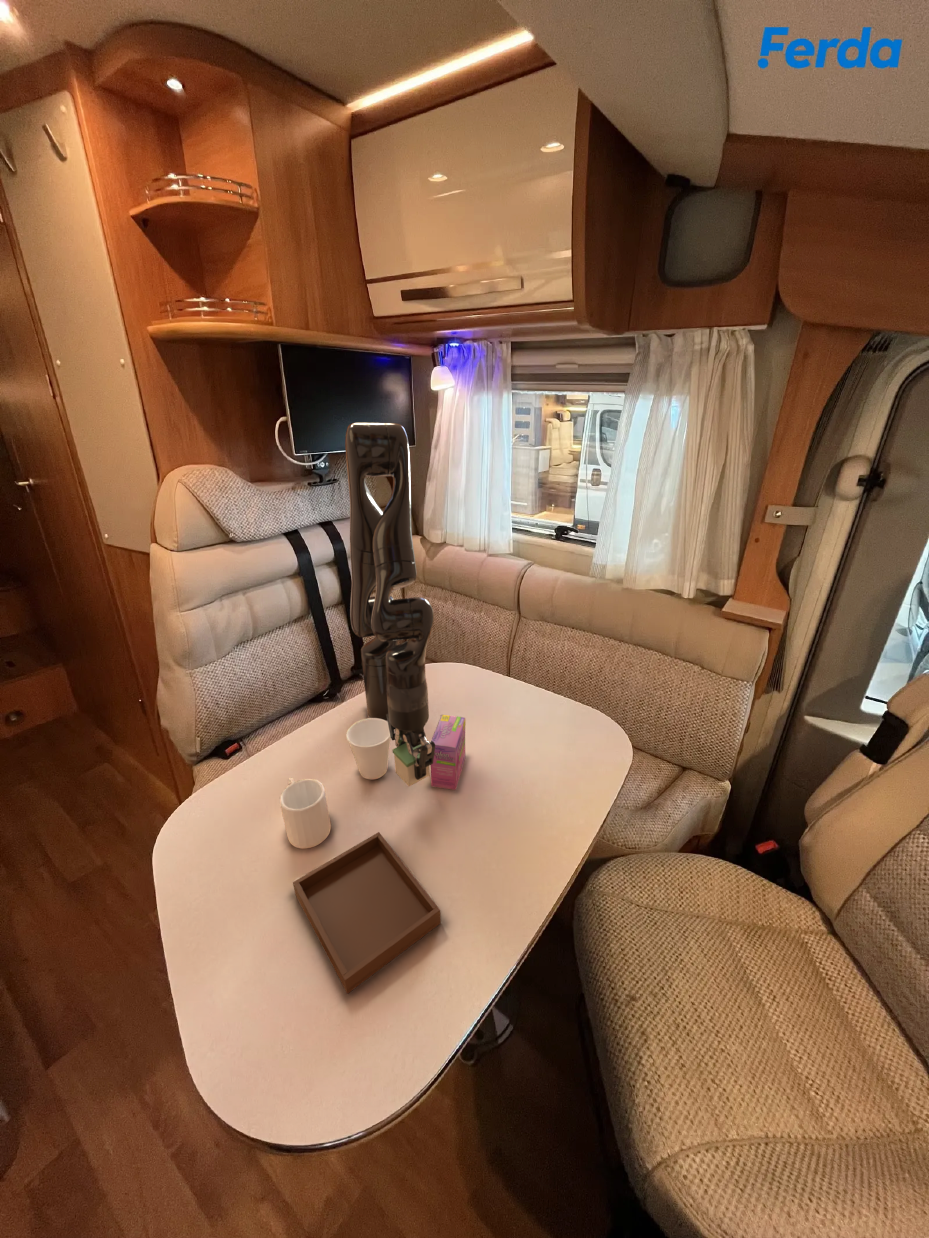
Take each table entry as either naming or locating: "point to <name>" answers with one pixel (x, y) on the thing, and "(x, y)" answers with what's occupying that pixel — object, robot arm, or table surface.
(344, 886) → the tray
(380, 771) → the cup
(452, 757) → the box
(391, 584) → the robot arm
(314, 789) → the mug
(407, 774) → the container
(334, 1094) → the table surface
